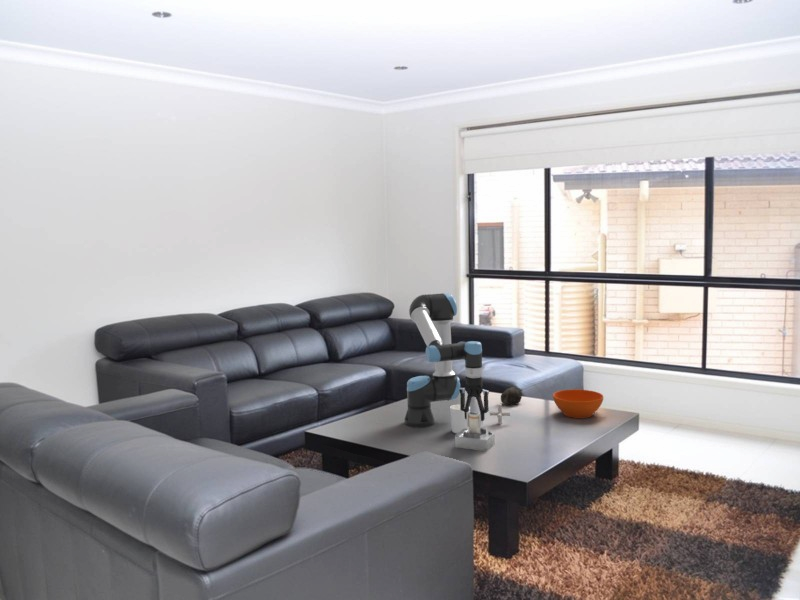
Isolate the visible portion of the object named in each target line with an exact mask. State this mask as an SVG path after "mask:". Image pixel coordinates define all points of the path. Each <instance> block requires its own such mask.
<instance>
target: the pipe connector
mask: <svg viewBox="0 0 800 600" xmlns="http://www.w3.org/2000/svg"><path fill="white" fill-rule="evenodd" d="M502 405H503V403H497V411H489V416H497V423H498V424H497V425H502V424H503V417H507V416H508V417H510V416H511V412H509V411H503V409H502V408H503V407H502Z"/></svg>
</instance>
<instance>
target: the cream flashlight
mask: <svg viewBox="0 0 800 600" xmlns="http://www.w3.org/2000/svg"><path fill="white" fill-rule="evenodd" d="M479 414H480V411H475V410H473V411H470V413H469V433H480V428H479ZM480 435H481V433H480Z"/></svg>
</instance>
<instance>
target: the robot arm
mask: <svg viewBox="0 0 800 600" xmlns="http://www.w3.org/2000/svg"><path fill="white" fill-rule="evenodd" d="M408 311H409V312H408V313H409V317H410V319H411V321H412V322H413V323H415V325H416V327H417V329H418V331H419V332H420V335H421V337H422V339H423V341H424V343H425V345H426V347H425V356H426V357H425V359H426V360H427V361H428V362H429V363H434V366H435V367H434V368H435V371H434V372H433V373H432V378H431V377H430V376H429V375H418V376H415V377H414V376H413V377H411V378H409V379H408V381H407V382H406V396H407V397H406V399H407V411H406V413H405V417H404V425H405V426H407V427H410V428H427V427H431V426H433V425H434V424H435V423H436V422H435V417H434V414H433V413H434V412H433V411H432V402H433V403H434V402H442V401H451V400H452V401H453V400H456V399H457V398H458V397H459V396H460V398H459V399H460V400H459V401H460V403H459V404H460V410H461V411H464V412H465V419H467V427H469V413H470V412H471V410H470V411H469V406H470V407H471V401H472V398H475V399H476V402H477V405H478V409H479V413H480V414H479V428H484V427H483V421H485V414H487V413H488V412H490V411H489V393H490V391H489V390H487V389H484V388H483V347H482V342H480V341H476V340H475V341H474V340H471V341H470V340H469V341H459V342H457V343H452V334H451V333H452V331H451V330H452V329H451V323H452V322H453V321H454V317H455V316H457V312H458V306H457V302H456V299H455V297H454V296H453V295H452V294H451V293H449V292H448V293H445V292H442V293H432V294H431V293H428V294H425V293H424V294H420V295H418V296H416V297H415V298H414V299H413V300H412V302H411V304H410V306H409V310H408ZM459 360H460V361H463V360H464V364H465V365H464V369H465V370H464V371H465V378H464V380H465V387H461V382H460V378H459V376H457V374H456V372H455V371H454V370H453V361H459ZM466 394H467V397H466ZM482 394H483V399H482ZM465 399H466V400H465Z"/></svg>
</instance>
